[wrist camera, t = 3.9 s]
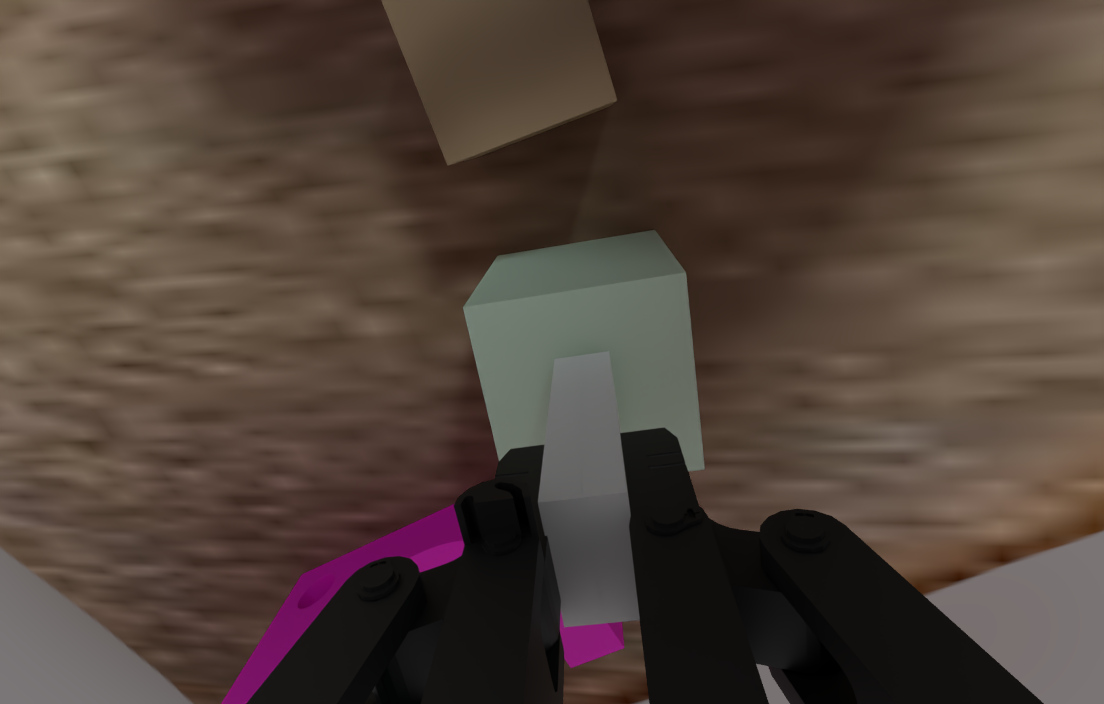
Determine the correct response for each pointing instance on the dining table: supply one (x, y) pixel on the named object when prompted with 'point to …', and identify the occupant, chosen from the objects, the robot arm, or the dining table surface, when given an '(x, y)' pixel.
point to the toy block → (428, 549)
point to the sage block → (587, 336)
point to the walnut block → (500, 68)
